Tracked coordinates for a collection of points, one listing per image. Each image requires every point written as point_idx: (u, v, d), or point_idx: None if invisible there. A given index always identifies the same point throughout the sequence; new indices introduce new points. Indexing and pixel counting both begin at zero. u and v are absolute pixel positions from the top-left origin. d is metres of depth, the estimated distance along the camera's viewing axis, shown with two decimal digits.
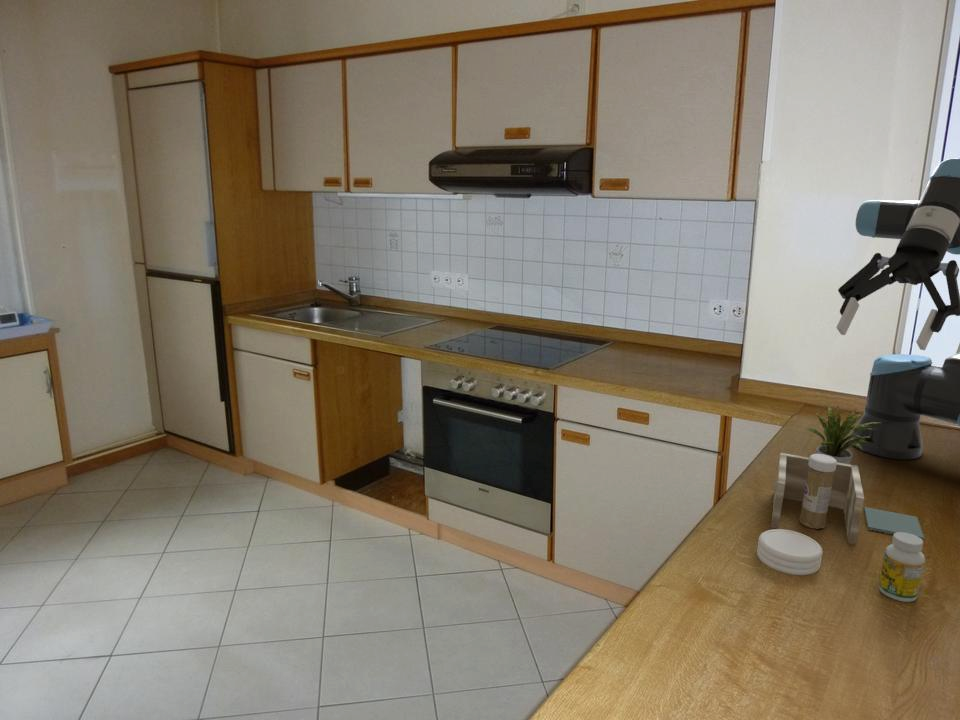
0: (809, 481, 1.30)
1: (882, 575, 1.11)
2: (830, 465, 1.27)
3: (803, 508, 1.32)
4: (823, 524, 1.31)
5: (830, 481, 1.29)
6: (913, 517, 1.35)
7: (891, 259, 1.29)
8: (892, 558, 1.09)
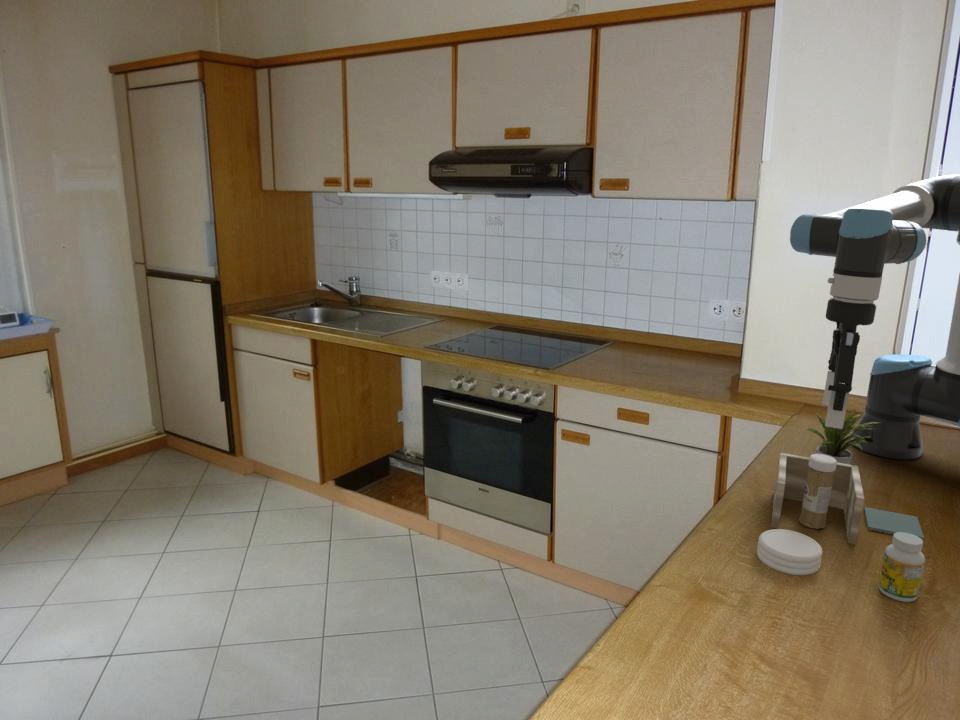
0: (809, 481, 1.30)
1: (882, 575, 1.11)
2: (830, 465, 1.27)
3: (803, 508, 1.32)
4: (823, 524, 1.31)
5: (830, 481, 1.29)
6: (913, 517, 1.35)
7: (838, 328, 1.27)
8: (892, 558, 1.09)
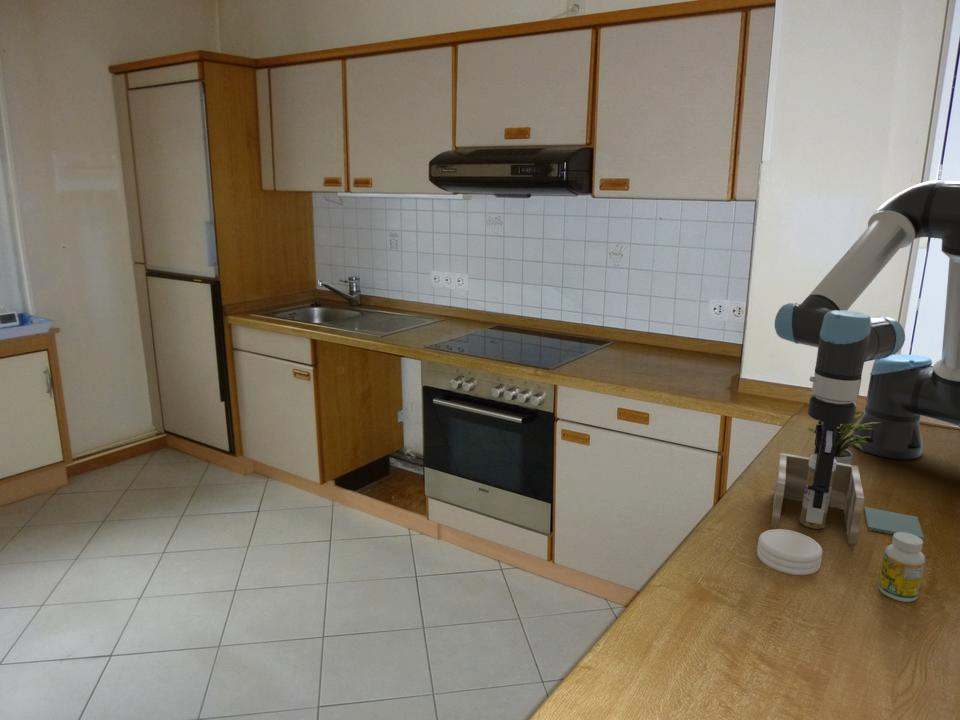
0: (809, 481, 1.30)
1: (882, 575, 1.11)
2: None
3: (803, 508, 1.32)
4: (823, 524, 1.31)
5: (830, 481, 1.29)
6: (913, 517, 1.35)
7: (821, 422, 1.31)
8: (892, 558, 1.09)
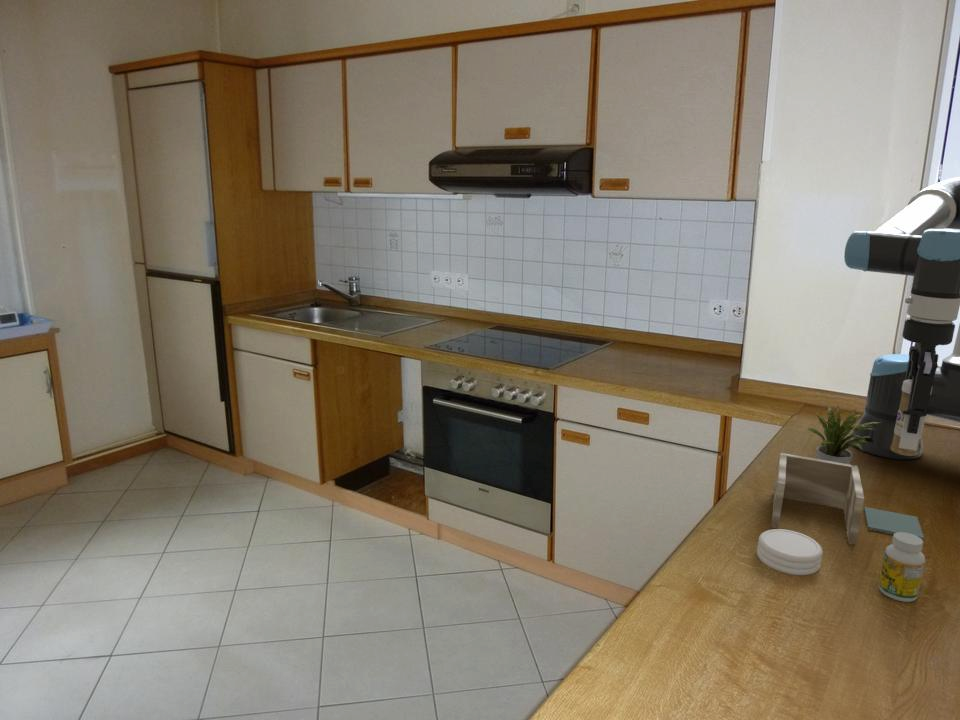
0: (903, 407, 1.27)
1: (882, 575, 1.11)
2: None
3: (895, 435, 1.29)
4: (917, 451, 1.28)
5: None
6: (913, 517, 1.35)
7: (914, 347, 1.29)
8: (892, 558, 1.09)
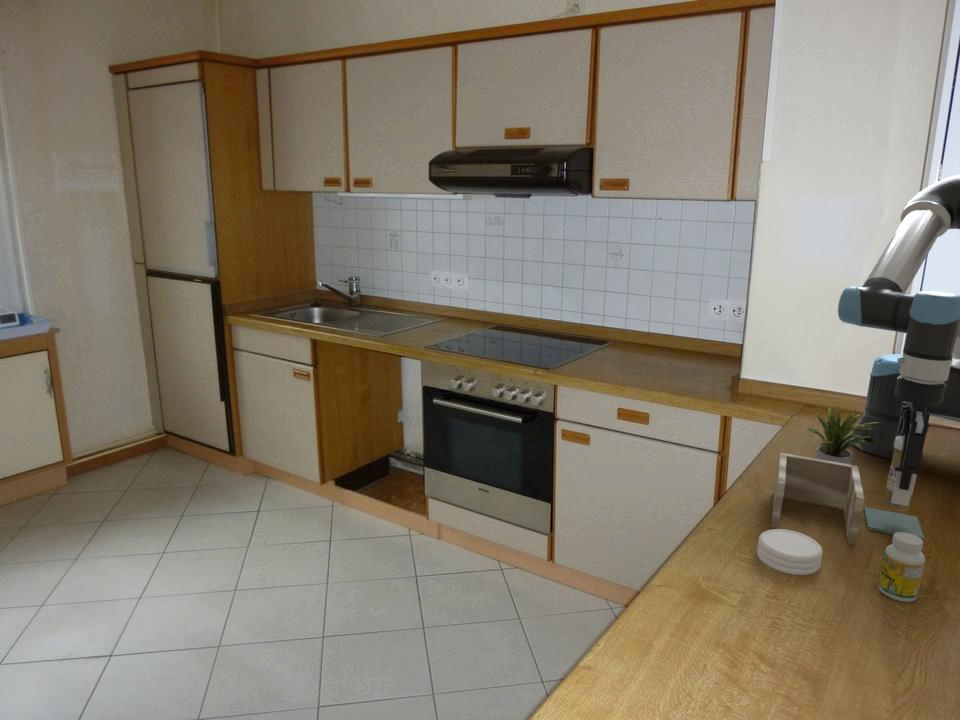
0: (895, 463, 1.30)
1: (882, 575, 1.11)
2: None
3: (887, 490, 1.32)
4: (908, 506, 1.31)
5: None
6: (913, 517, 1.35)
7: (906, 404, 1.31)
8: (892, 558, 1.09)
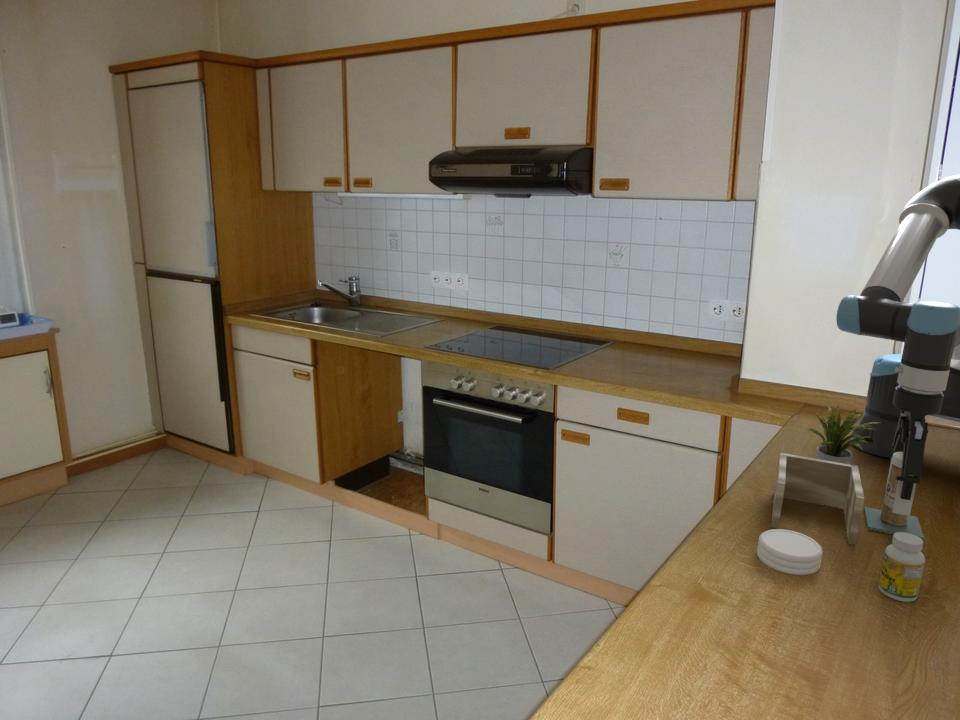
0: (893, 479, 1.31)
1: (882, 575, 1.11)
2: None
3: (885, 505, 1.33)
4: (905, 521, 1.32)
5: None
6: (913, 517, 1.35)
7: (904, 413, 1.32)
8: (892, 558, 1.09)
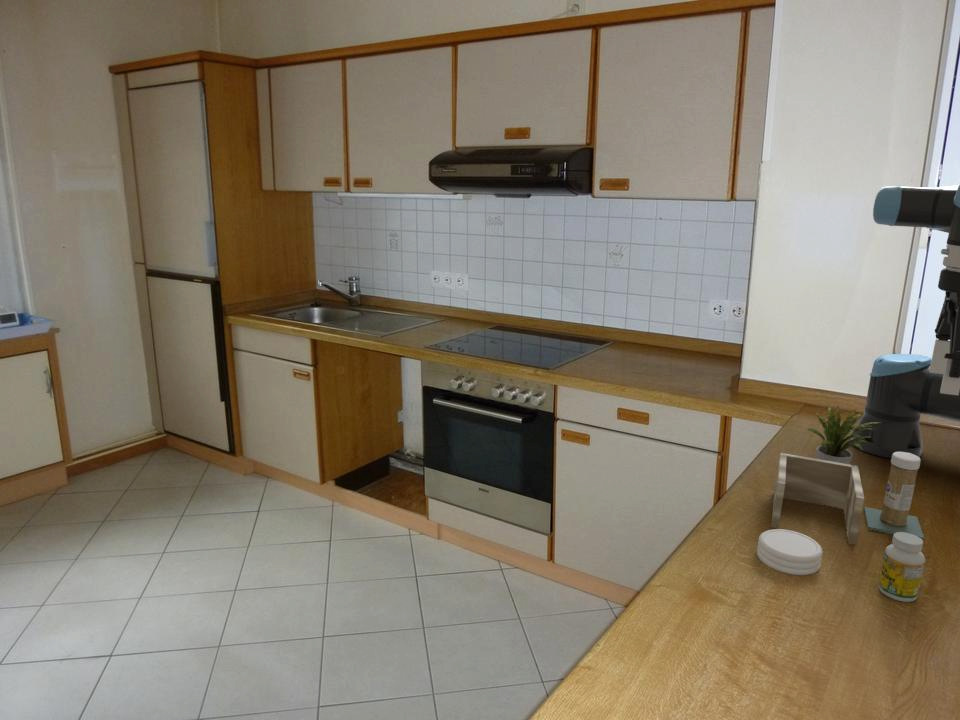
0: (892, 479, 1.31)
1: (882, 575, 1.11)
2: (914, 463, 1.28)
3: (885, 506, 1.33)
4: (905, 521, 1.32)
5: (914, 479, 1.29)
6: (913, 517, 1.35)
7: (949, 297, 1.31)
8: (892, 558, 1.09)
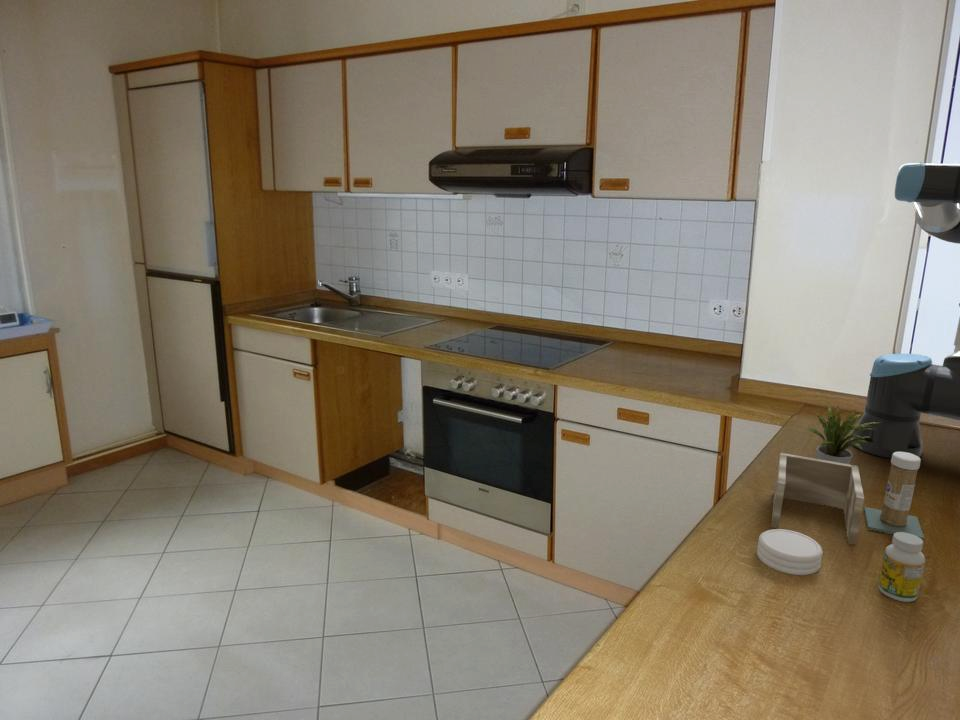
0: (892, 479, 1.31)
1: (882, 575, 1.11)
2: (914, 463, 1.28)
3: (885, 506, 1.33)
4: (905, 521, 1.32)
5: (914, 479, 1.29)
6: (913, 517, 1.35)
7: None
8: (892, 558, 1.09)
